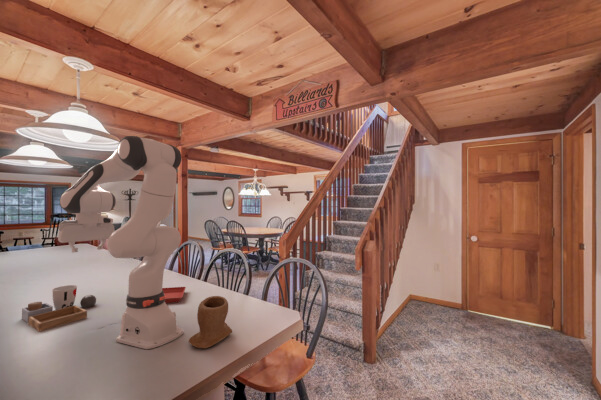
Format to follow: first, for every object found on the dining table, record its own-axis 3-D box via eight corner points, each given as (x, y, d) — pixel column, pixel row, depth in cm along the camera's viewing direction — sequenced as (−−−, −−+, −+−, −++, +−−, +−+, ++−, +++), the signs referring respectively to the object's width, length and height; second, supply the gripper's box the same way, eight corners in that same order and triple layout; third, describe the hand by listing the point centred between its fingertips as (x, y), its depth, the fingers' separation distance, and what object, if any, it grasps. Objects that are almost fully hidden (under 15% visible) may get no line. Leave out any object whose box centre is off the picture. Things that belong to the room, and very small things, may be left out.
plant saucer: (185, 292, 145) (185, 286, 145) (182, 303, 128) (182, 296, 128) (148, 295, 139) (148, 288, 140) (139, 307, 122) (140, 300, 122)
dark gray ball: (98, 307, 121) (98, 294, 121) (83, 311, 116) (83, 298, 116) (92, 304, 124) (93, 292, 124) (77, 308, 119) (78, 295, 119)
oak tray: (86, 319, 108) (87, 310, 108) (38, 333, 95) (39, 323, 96) (74, 313, 114) (75, 305, 114) (28, 326, 101) (28, 316, 101)
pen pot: (52, 318, 108) (52, 306, 108) (27, 325, 102) (28, 312, 102) (45, 314, 112) (46, 302, 112) (21, 320, 106) (22, 308, 106)
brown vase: (208, 355, 83) (209, 307, 83) (183, 345, 89) (184, 300, 89) (241, 335, 96) (242, 294, 97) (217, 328, 102) (218, 289, 102)
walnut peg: (43, 317, 107) (43, 302, 107) (29, 321, 104) (30, 306, 104) (38, 315, 109) (39, 301, 109) (25, 319, 105) (26, 304, 106)
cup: (61, 315, 112) (62, 291, 112) (46, 313, 113) (47, 289, 114) (80, 308, 120) (81, 285, 120) (66, 306, 121) (67, 284, 122)
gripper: (62, 220, 108) (61, 254, 108) (116, 219, 126) (116, 248, 125) (55, 220, 111) (54, 253, 111) (110, 219, 129) (109, 247, 128)
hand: (87, 250), depth 118 cm, fingers open, 8 cm apart
